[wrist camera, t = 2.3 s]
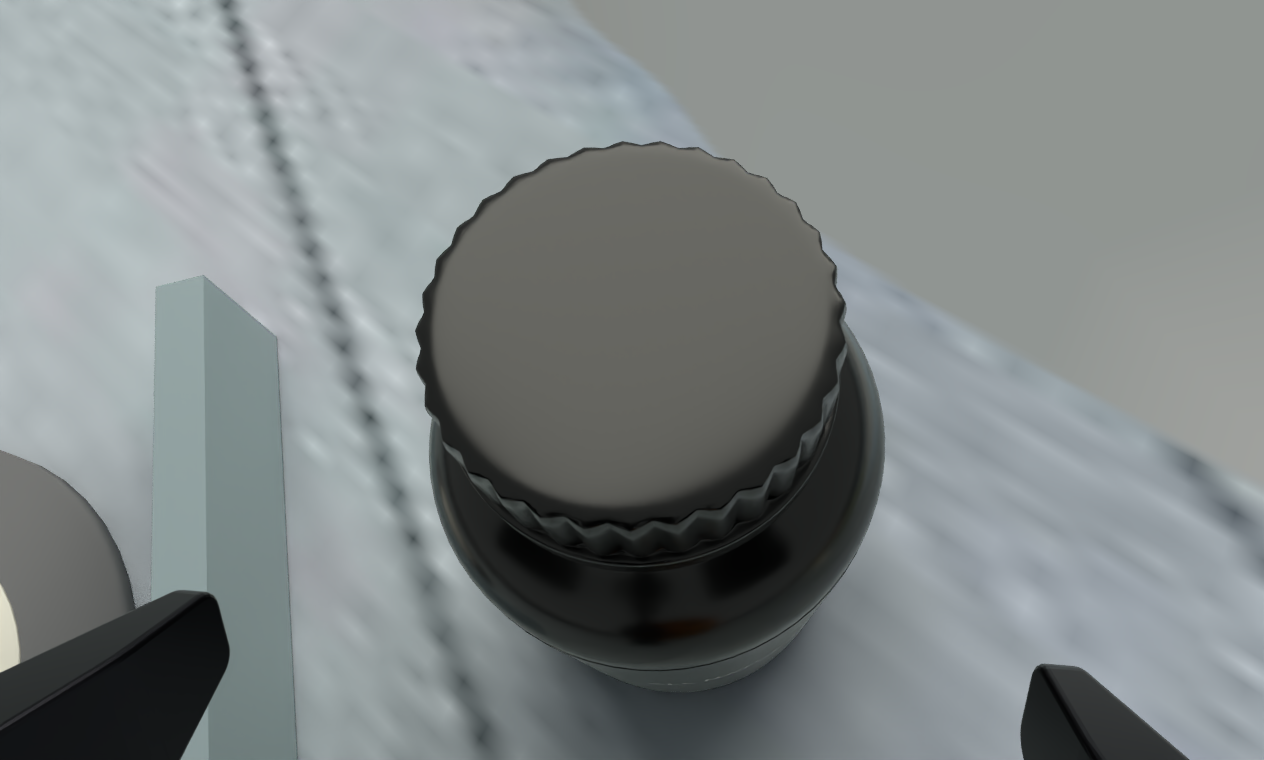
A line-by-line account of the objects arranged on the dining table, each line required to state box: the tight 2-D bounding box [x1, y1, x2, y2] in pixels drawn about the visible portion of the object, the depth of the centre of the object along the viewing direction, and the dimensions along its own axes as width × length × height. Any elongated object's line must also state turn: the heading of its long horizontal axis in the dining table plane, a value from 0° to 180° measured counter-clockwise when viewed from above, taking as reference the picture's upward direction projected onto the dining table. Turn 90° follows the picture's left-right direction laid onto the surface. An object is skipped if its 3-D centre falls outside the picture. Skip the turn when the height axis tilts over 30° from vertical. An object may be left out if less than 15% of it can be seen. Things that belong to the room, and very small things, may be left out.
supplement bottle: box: [415, 141, 885, 693], centre depth 15 cm, size 7×7×12 cm
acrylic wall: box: [151, 275, 297, 760], centre depth 19 cm, size 16×1×4 cm, turn 12°
